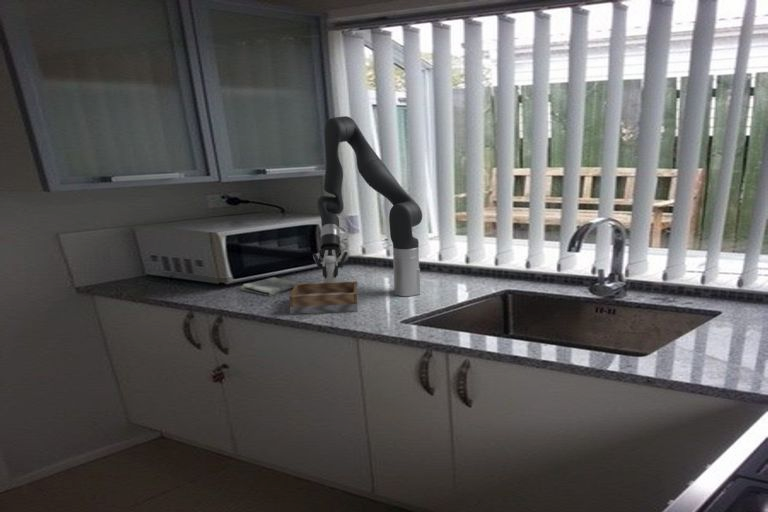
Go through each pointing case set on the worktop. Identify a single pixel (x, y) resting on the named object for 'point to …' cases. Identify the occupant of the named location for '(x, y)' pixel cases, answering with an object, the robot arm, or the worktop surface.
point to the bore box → (324, 297)
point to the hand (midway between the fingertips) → (330, 276)
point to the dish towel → (269, 286)
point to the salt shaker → (330, 269)
